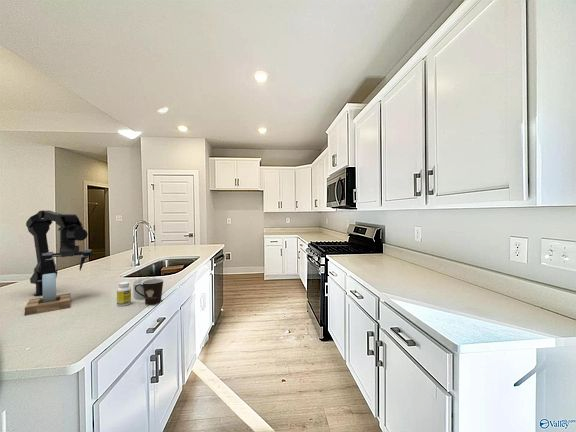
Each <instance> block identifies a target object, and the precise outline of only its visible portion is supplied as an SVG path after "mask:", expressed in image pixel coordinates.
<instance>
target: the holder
mask: <svg viewBox="0 0 576 432" xmlns="http://www.w3.org/2000/svg"><path fill="white" fill-rule="evenodd" d="M69 308H71V293H63V294H56V301H53V302H46V303H43V296H42V297H36V298H29V299H28V302H27V303H26V304H25V307H24V316H29V315H36V314H41V313H47V312H52V311H58V310H63V309H69Z"/></svg>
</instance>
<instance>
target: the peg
mask: <svg viewBox="0 0 576 432" xmlns="http://www.w3.org/2000/svg"><path fill="white" fill-rule="evenodd" d="M42 286H43V295H42V297H43V303H46V302H53V301H56V295H57V277H56V273H50V274H44V275H42Z"/></svg>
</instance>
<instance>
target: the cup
mask: <svg viewBox="0 0 576 432" xmlns="http://www.w3.org/2000/svg"><path fill="white" fill-rule="evenodd" d="M151 279H157V278H156V277H151V278H150V277H149V276H146V277H145V278H144V277H139V278H138V279H135V280H134V281H133V283H132V285H133V289H132V290H133V294H132V296H133V299H135V300H137V301H138V300H139V301H140V300H141V301H142V300H145V298H144V297H143V296H141V295H140V294H138V293H137V292H136V291H135V286H136V285H138V284H142V285H143V281H146V280H151ZM136 290H137V291H138V292H139V293H141V294H143V295H144V289H143V287H142V286H140V285H139V286H137V287H136Z"/></svg>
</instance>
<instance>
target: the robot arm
mask: <svg viewBox="0 0 576 432" xmlns="http://www.w3.org/2000/svg"><path fill="white" fill-rule="evenodd" d="M53 222H55V224H56V226H57V225H58V226H59V228H58V229H57V231H59V252H54V251H50V250H49V244H48V243H49V242H48V237H47V233H48V232H49V230H50V228H51V227H50V226H51V225H52V224H53ZM25 226H26V229H27V231H28V233H30V235H31V236H33V241H34V248H35V255H36V262H37V264H36V265H35V267H34V269H33V274H31V277H30V278H29V282H30V284H34V285H35V293H33V296H34V297H36V296H37V297H38V296H43V286H42V275H44V274H50V273H56V278H57V276H58V269H57V265H56V262H55V258H60V257H61V258H65V257H74V256H80V263H79V271H82V268H83V266H84V263H85V261H86V259H87V258H89V257H91V256H93V250H92V249H89V248H88V249H82V250H80V245H76V241H81V242H82V241H84V240H86V239H87V238H88V231H87V230H86V229H84V226H83V223H82V222H81V221H80V219H79V217H78V215H77V214H75V213H73V214H70V213H69V214H66V213H65V214H64V213H59V212H55V211H52V210H44V209H43V210H39V211H38V212H37V213H35V214H34V215H32V216H30V217H29V218H28V219H27V220H26V222H25Z"/></svg>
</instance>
